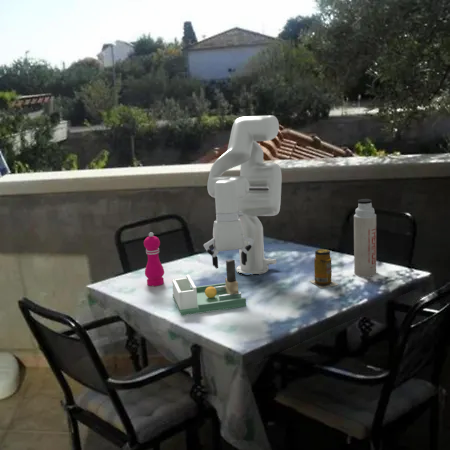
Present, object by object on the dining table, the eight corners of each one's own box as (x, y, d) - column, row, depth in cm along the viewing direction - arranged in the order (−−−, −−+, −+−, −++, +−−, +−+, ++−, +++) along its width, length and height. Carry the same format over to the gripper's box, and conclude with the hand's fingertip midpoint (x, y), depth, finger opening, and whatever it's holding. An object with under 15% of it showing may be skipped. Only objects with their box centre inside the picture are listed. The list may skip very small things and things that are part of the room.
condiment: (327, 278, 233) (326, 247, 230) (338, 285, 226) (338, 252, 223) (309, 281, 231) (308, 250, 228) (320, 288, 223) (319, 256, 220)
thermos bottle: (380, 273, 234) (380, 199, 227) (363, 278, 231) (363, 203, 224) (366, 268, 241) (366, 196, 234) (349, 272, 237) (349, 199, 231)
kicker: (234, 290, 222) (232, 257, 219) (238, 296, 216) (236, 262, 213) (226, 291, 221) (224, 259, 218) (230, 297, 216) (228, 263, 213)
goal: (190, 293, 223) (188, 274, 221) (197, 307, 209) (196, 287, 208) (173, 295, 221) (171, 276, 220) (179, 309, 208) (178, 289, 206)
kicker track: (234, 289, 224) (234, 284, 223) (241, 298, 215) (241, 293, 214) (213, 292, 222) (213, 287, 222) (219, 301, 213) (219, 296, 213)
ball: (215, 295, 220) (214, 284, 219) (218, 299, 216) (217, 287, 215) (204, 296, 219) (203, 285, 218) (206, 300, 215) (205, 289, 214)
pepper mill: (162, 286, 235) (157, 234, 230) (143, 286, 236) (138, 235, 231) (167, 280, 242) (163, 229, 237) (149, 280, 243) (144, 229, 238)
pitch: (233, 288, 228) (232, 281, 227) (246, 306, 211) (245, 298, 210) (172, 297, 224) (172, 289, 223) (181, 315, 207) (180, 307, 206)
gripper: (249, 212, 217) (251, 260, 221) (199, 217, 214) (203, 265, 217) (255, 216, 210) (257, 265, 214) (204, 221, 206) (207, 271, 210)
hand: (230, 265), depth 216 cm, fingers open, 9 cm apart
